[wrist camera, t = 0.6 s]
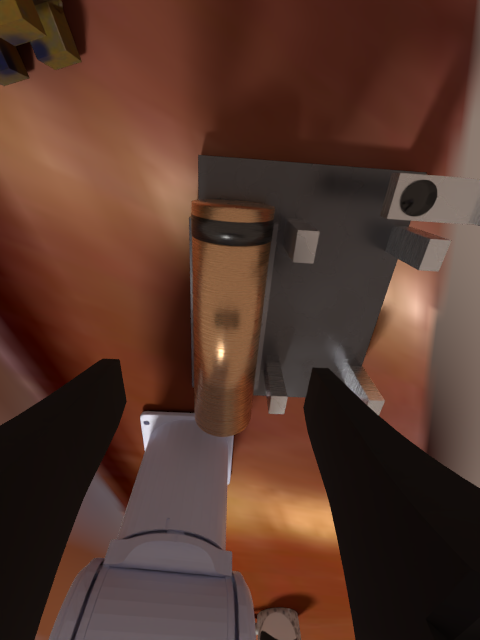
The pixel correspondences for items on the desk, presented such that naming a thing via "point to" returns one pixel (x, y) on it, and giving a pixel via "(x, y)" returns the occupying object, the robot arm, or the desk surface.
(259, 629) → the mug
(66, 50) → the pipe connector
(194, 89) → the desk surface
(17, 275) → the desk surface
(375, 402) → the small blocks
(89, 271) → the desk surface
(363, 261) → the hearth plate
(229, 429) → the tube
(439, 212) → the aperture bracket
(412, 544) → the robot arm
